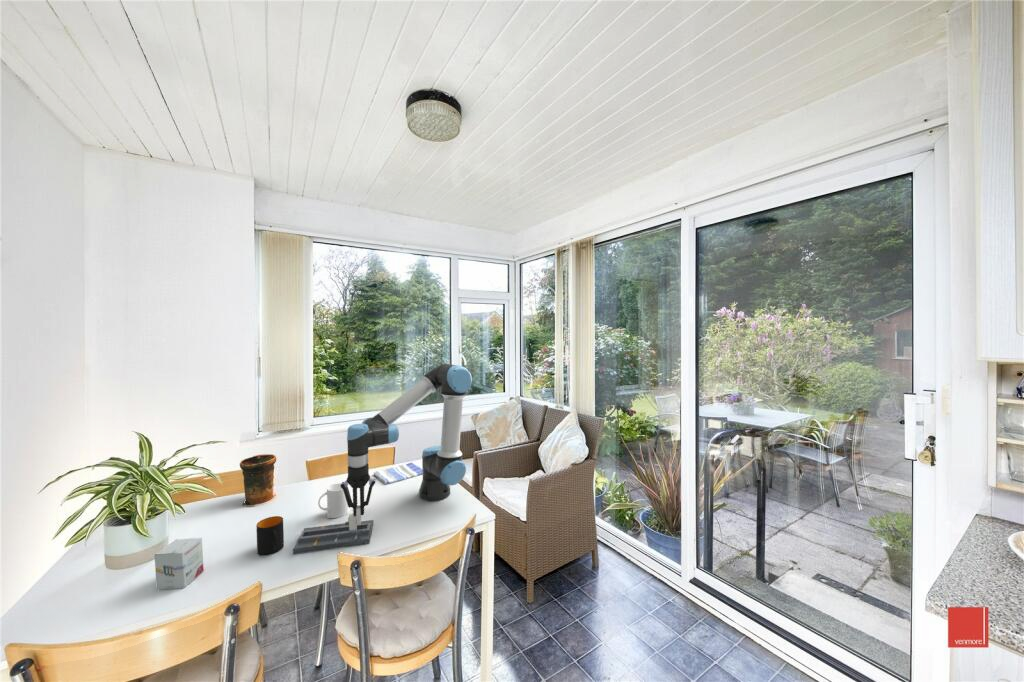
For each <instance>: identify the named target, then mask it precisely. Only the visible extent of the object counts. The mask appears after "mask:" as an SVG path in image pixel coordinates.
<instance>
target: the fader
mask: <svg viewBox="0 0 1024 682" xmlns="http://www.w3.org/2000/svg"><path fill="white" fill-rule="evenodd" d="M347 521H348V522H349V531H352V530H357V525H356V516H354V515H353V513H348V517H347Z"/></svg>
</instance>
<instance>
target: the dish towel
mask: <svg viewBox="0 0 1024 682" xmlns="http://www.w3.org/2000/svg"><path fill="white" fill-rule="evenodd" d="M373 475H374V476H375V478H377V479H378V480H379V481H381V482H382V484H383V485H390V484H394V483H397V482H398V483H399V482H401V481H405V480H408V479H412V478H415V477H419V476H423V469H422V468H421V467H419V466H417V465H416V464H414V463H413V462H408V464H407V463H404V464H401V465H398V466H396V467H390V468H386V469H382V470H379V471H377V470H376V471H375V472H373Z"/></svg>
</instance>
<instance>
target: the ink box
mask: <svg viewBox="0 0 1024 682" xmlns="http://www.w3.org/2000/svg"><path fill="white" fill-rule="evenodd" d="M203 556H204V555H203V539H202V537H198V538H197V537H189V538H181V539H179V538H177V539H174V540H172V542H170V543H169V544H168V545H166V546H165V547H163V548H162V549H160V550H159V551H157V552H156V553H155V554H154V567H155V584H156V587H155V588H156V590H157V591H161V590H174V589H175V590H176V589H185V588H187V587H188V585H190V584H191V583H192V582H193V581H194V580H196V578H197V577H198V576H199V575H200V574H201V573H203V572H204V557H203Z"/></svg>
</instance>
